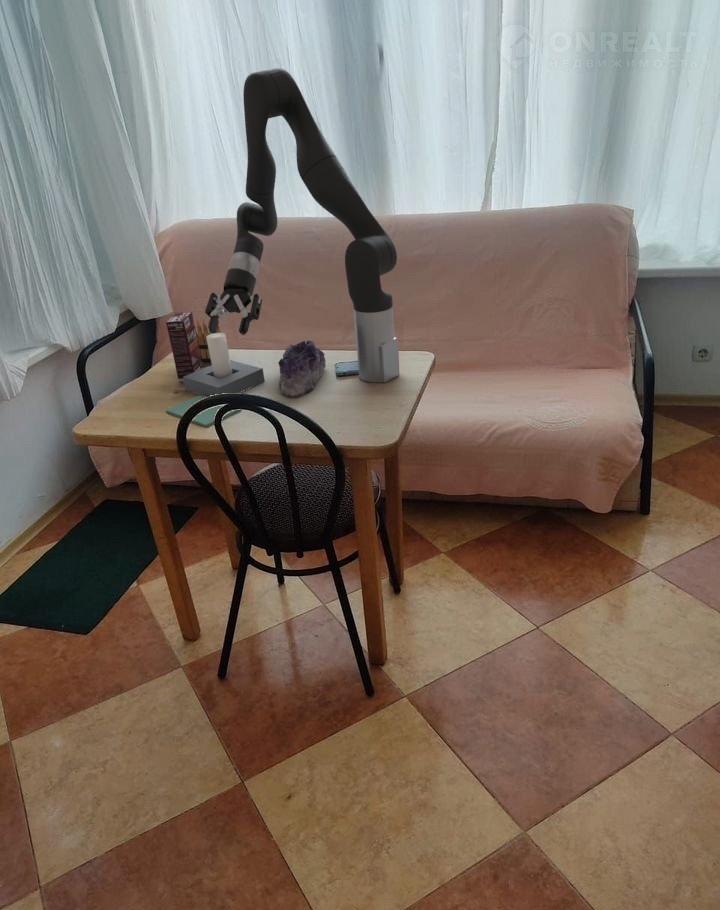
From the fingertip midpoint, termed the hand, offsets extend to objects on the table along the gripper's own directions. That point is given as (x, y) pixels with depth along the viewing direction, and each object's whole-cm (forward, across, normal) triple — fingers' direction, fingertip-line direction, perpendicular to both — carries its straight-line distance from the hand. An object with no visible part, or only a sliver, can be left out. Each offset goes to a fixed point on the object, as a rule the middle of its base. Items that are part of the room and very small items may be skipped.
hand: (226, 332), depth 157 cm
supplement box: (+9, -13, +8) cm, 18 cm away
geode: (+8, +19, +9) cm, 23 cm away
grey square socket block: (+12, 0, +5) cm, 13 cm away
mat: (+23, +3, -6) cm, 24 cm away
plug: (+12, 0, +5) cm, 13 cm away
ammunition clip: (+2, -14, +16) cm, 21 cm away
